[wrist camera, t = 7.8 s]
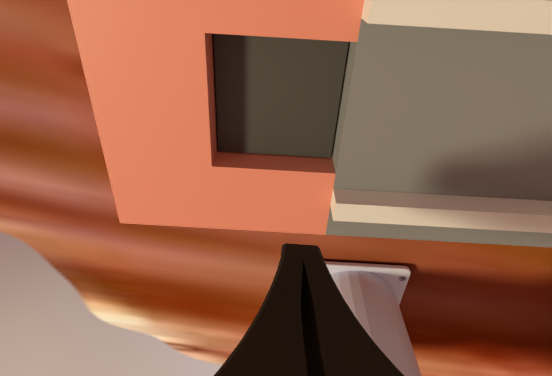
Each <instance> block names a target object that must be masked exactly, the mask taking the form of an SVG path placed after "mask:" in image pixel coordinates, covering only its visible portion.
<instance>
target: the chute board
mask: <svg viewBox="0 0 552 376" xmlns="http://www.w3.org/2000/svg"><path fill="white" fill-rule="evenodd" d="M67 2H68V6H69V10H70V15H71V19H72V23H73V27H74V31H75V36H76V40H77V44H78V48H79V52H80V57H81V61H82V65H83V69H84V73H85V78H86V82H87V86H88V90H89V95H90V99H91V103H92V107H93V111H94V116H95V120H96V124H97V128H98V132H99V137H100V141H101V145H102V149H103V153H104V158H105V162H106V166H107V170H108V174H109V179H110V183H111V187H112V191H113V195H114V200H115V204H116V208H117V212H118V216H119V221H120V223H128V224H146V225H163V226H181V227H199V228H216V229H234V230H252V231H269V232H287V233H305V234H322V235H340V236H358V237H375V238H393V239H411V240H428V241H446V242H463V243H481V244H499V245H516V246H534V247H552V0H67ZM213 34H214V54H213ZM349 42H350V43H349ZM348 43H349V49H348ZM347 50H348V56H347ZM346 56H347V62H346ZM214 57H215V78H214ZM345 63H346V69H345ZM344 69H345V75H344ZM343 76H344V82H343ZM215 82H216V101H215ZM342 83H343V88H342ZM341 89H342V95H341ZM340 96H341V101H340ZM339 102H340V108H339ZM216 106H217V125H216ZM338 109H339V114H338ZM337 115H338V121H337ZM336 122H337V127H336ZM335 128H336V134H335ZM217 131H218V149H217ZM334 135H335V140H334ZM333 141H334V147H333ZM332 148H333V153H332ZM331 154H332V157H331Z"/></svg>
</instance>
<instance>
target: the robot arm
mask: <svg viewBox="0 0 552 376" xmlns="http://www.w3.org/2000/svg"><path fill="white" fill-rule="evenodd" d="M410 274H411V271H410V269H409V267H407V266H400V265H382V264H364V263H346V262H328V261H324V259H323V256H322V254H321V251H320V248H319V247H318V246H313V245H299V244H284V245H282V251H281V259H280V262H279V266H278V269H277V272H276V275H275V277H274V280H273V282H272V285H271V287H270V289H269V292H268V294H267V296H266V298H265V300H264V302H263V304H262V306H261V308H260V310H259V312H258V314H257V315H256V317H255V319H254V321H253V322H252V324H251V326H250V327H249V329H248V330H247V332H246V333H245V335H244V337H243V338H242V340H241V341H240V343H239V344H238V345H237V347H236V348H235V349H234V351H233V352H232V353H231V355H230V356H229V357H228V359H227V360H226V361H225V363H224V364H223V365H222V367H221V368H220V369H219V370H218V371H217V373H216V374H215V375H214V376H421V373H420V370H419V366H418V363H417V360H416V357H415V354H414V351H413V348H412V345H411V342H410V338H409V335H408V332H407V329H406V326H405V323H404V320H403V317H402V314H401V310H400V307H399V305H400V302H401V299H402V296H403V294H404V291H405V288H406V285H407V283H408V280H409V277H410ZM402 276H403V277H402Z"/></svg>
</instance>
